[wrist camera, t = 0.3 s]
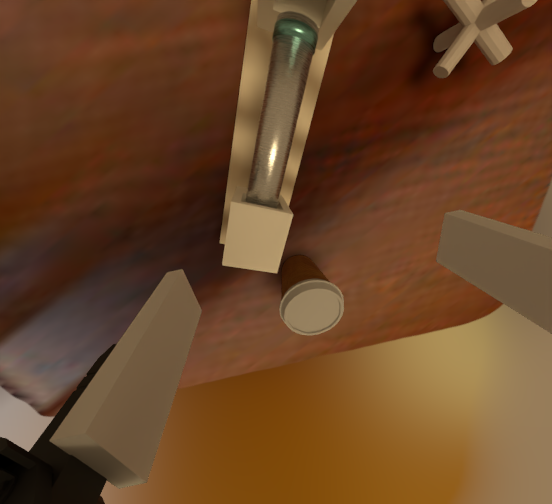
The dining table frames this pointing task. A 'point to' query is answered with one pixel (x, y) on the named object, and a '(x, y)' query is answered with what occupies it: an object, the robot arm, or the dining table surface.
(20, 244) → the dining table surface
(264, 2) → the socket
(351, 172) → the dining table surface
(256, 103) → the board
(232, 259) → the sleeve
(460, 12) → the pipe connector
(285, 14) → the tube
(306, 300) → the disposable coffee cup
